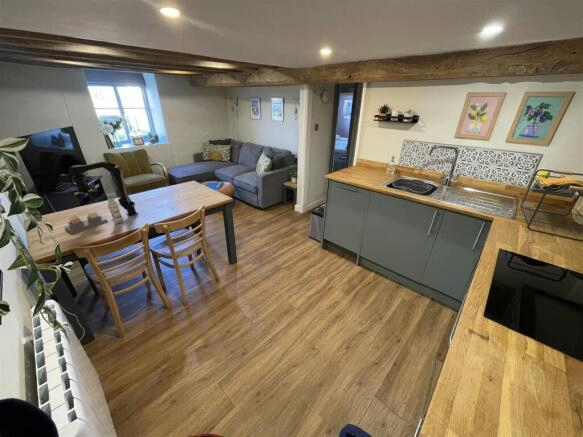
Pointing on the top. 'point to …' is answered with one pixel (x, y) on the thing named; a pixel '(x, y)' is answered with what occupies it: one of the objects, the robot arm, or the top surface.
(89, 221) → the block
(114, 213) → the plastic bottle
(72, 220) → the orange cube
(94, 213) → the beige cube
